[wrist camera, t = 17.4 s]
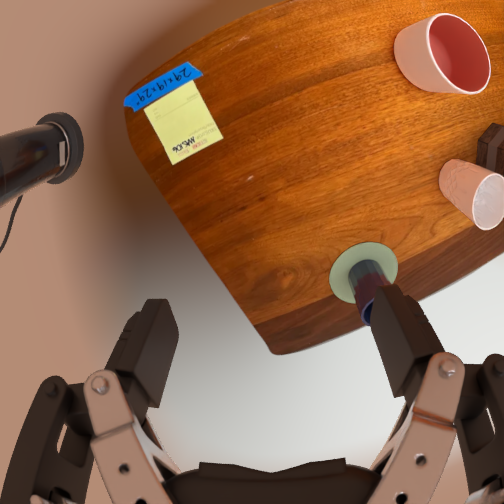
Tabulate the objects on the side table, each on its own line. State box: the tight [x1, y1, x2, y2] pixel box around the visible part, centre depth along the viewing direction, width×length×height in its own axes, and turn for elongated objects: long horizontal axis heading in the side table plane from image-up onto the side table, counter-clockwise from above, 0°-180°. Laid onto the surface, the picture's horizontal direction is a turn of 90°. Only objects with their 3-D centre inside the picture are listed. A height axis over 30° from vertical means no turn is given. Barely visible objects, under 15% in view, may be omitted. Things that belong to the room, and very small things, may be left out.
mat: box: [329, 242, 398, 303], centre depth 43 cm, size 12×12×1 cm
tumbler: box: [348, 259, 391, 326], centre depth 39 cm, size 6×6×9 cm
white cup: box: [439, 159, 504, 230], centre depth 29 cm, size 8×8×10 cm
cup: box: [394, 13, 490, 94], centre depth 21 cm, size 10×10×10 cm
